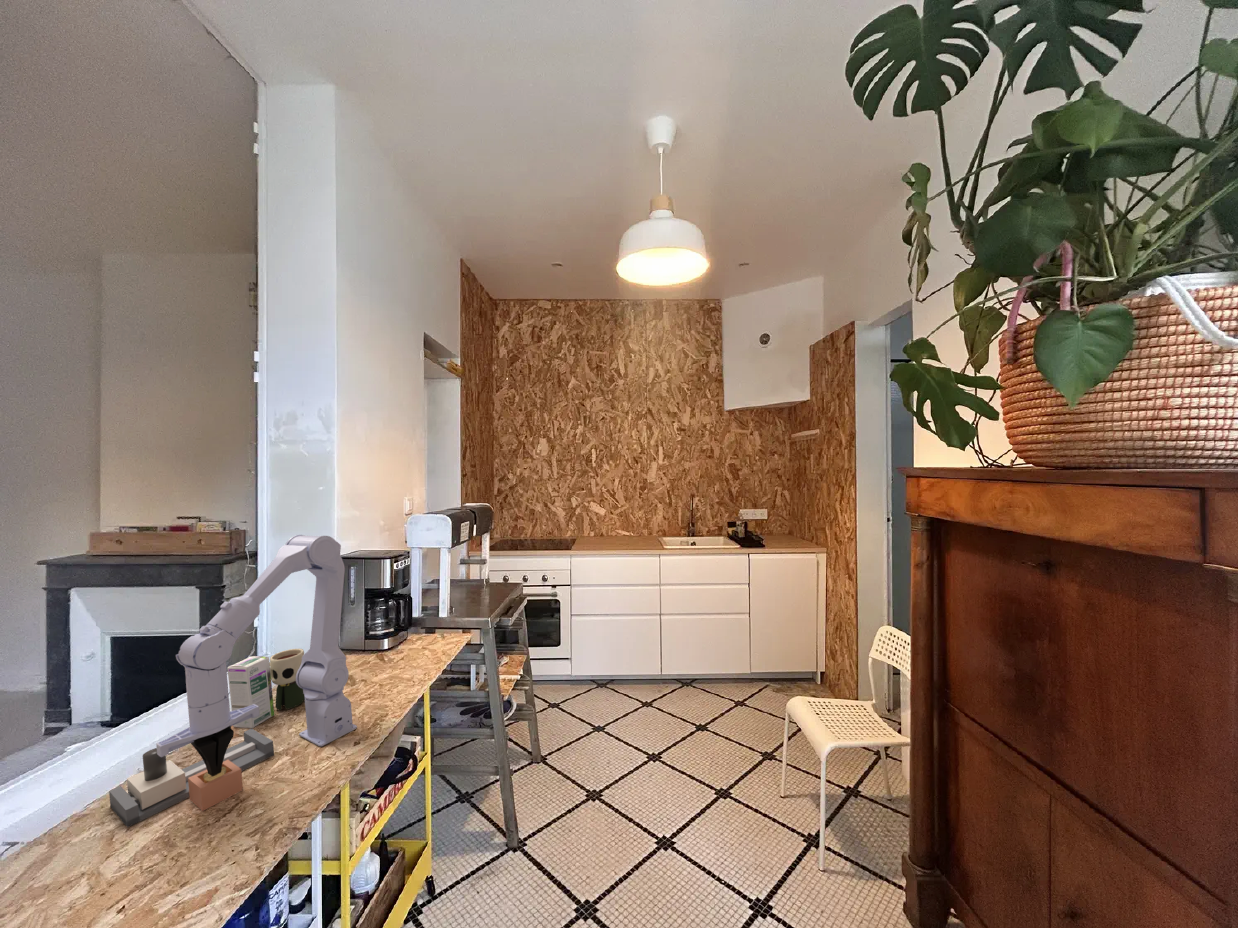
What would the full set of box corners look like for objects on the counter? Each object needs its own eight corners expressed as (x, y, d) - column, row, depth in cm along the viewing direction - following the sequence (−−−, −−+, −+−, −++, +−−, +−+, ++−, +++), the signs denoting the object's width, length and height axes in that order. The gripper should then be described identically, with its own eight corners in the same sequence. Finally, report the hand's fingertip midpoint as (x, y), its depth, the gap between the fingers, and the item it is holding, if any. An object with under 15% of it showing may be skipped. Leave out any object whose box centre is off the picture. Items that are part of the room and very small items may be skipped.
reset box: (243, 789, 91) (241, 768, 91) (202, 810, 86) (200, 788, 86) (229, 779, 94) (227, 759, 94) (189, 799, 89) (187, 777, 89)
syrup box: (252, 728, 112) (247, 666, 112) (231, 727, 113) (226, 665, 113) (275, 715, 118) (270, 655, 117) (254, 714, 119) (249, 655, 118)
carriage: (186, 788, 90) (183, 748, 90) (142, 809, 85) (138, 767, 85) (171, 774, 94) (167, 737, 94) (128, 794, 89) (124, 754, 89)
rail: (274, 754, 101) (272, 740, 101) (127, 827, 83) (125, 810, 83) (252, 741, 107) (251, 728, 107) (110, 807, 88) (109, 790, 88)
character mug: (258, 715, 118) (254, 662, 118) (276, 700, 125) (272, 650, 125) (305, 710, 119) (301, 658, 119) (321, 696, 126) (317, 646, 126)
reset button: (230, 785, 90) (228, 769, 90) (208, 796, 88) (207, 780, 88) (223, 780, 92) (221, 764, 92) (201, 790, 89) (200, 774, 89)
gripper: (245, 678, 98) (251, 745, 98) (148, 713, 85) (154, 789, 86) (261, 686, 94) (267, 755, 94) (161, 724, 82) (168, 803, 82)
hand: (214, 772), depth 90 cm, fingers closed, pressing on reset button
